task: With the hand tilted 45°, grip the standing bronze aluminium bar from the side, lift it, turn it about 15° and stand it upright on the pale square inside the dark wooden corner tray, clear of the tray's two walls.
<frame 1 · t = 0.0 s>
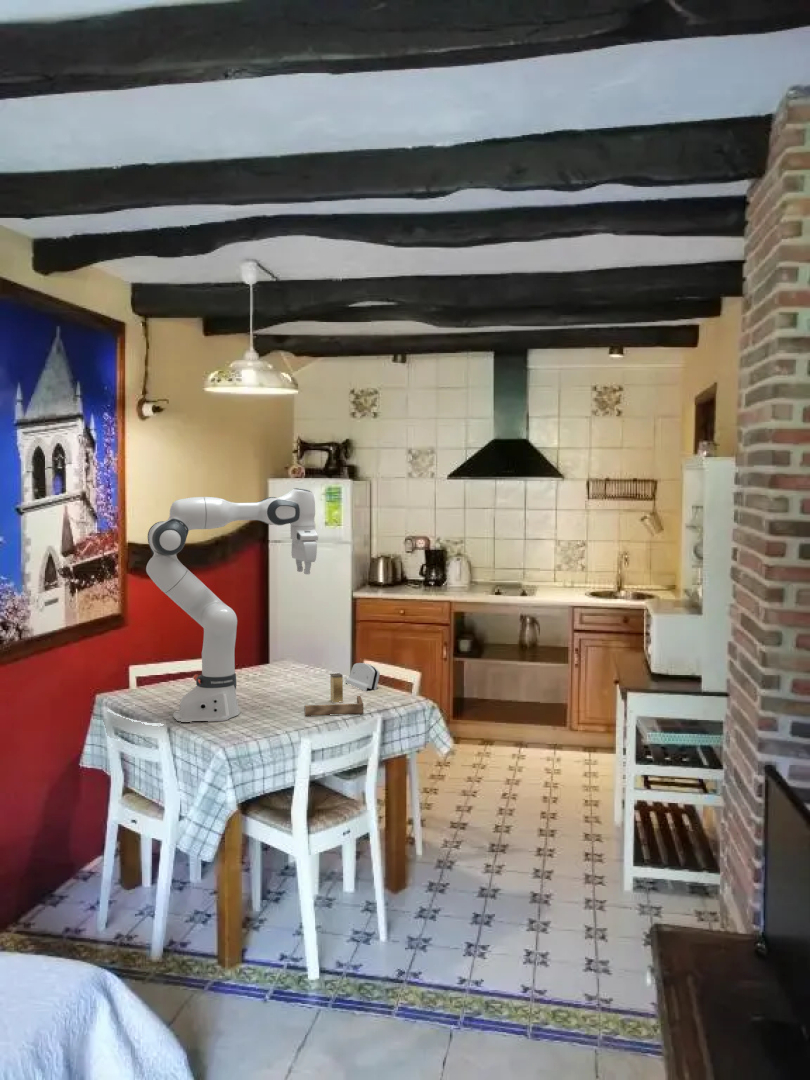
hand: (303, 572, 311), 48 cm above the table, tool pointing down, fingers open, 8 cm apart
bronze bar: (336, 701, 319), on the table
corner tray: (333, 710, 306), on the table
hinge: (363, 686, 343), on the table
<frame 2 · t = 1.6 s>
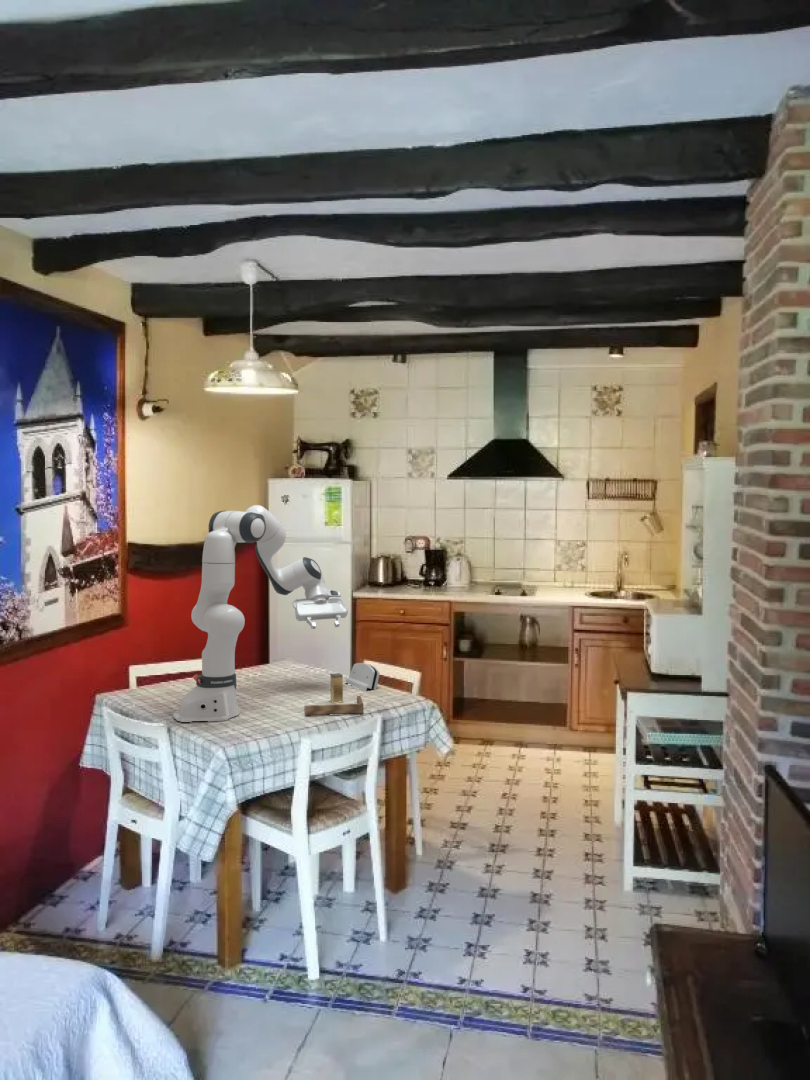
hand: (325, 627, 329), 26 cm above the table, tool tilted 45°, fingers open, 8 cm apart
nothing on the table moved.
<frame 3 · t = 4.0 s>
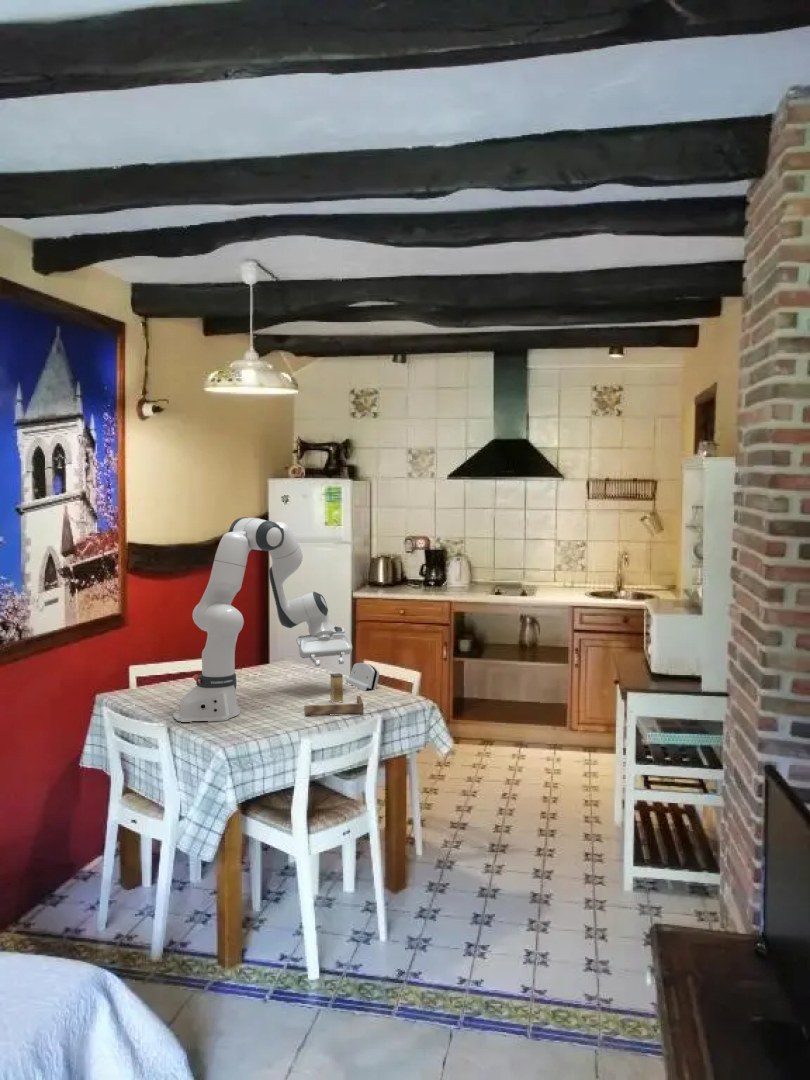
hand: (329, 664, 326), 12 cm above the table, tool tilted 45°, fingers open, 8 cm apart
nothing on the table moved.
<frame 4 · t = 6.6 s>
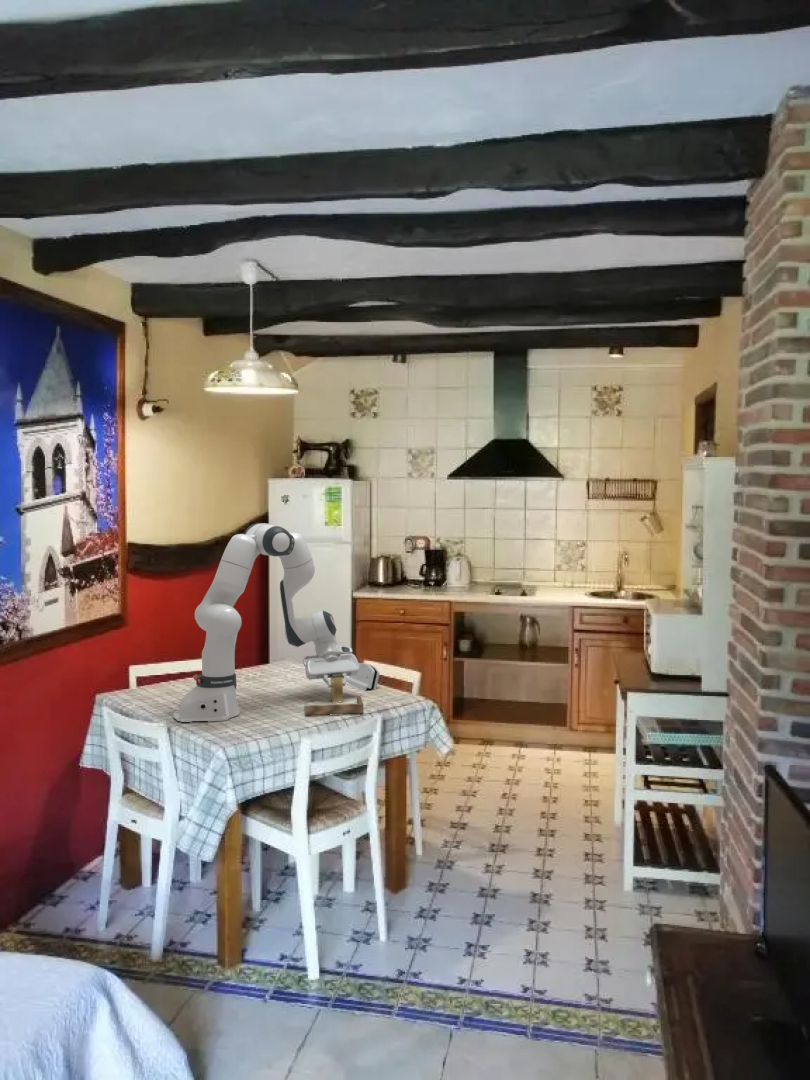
hand: (337, 685, 318), 6 cm above the table, tool tilted 45°, fingers closed on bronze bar, 3 cm apart
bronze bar: (336, 701, 319), on the table, touching gripper
everything else where it was.
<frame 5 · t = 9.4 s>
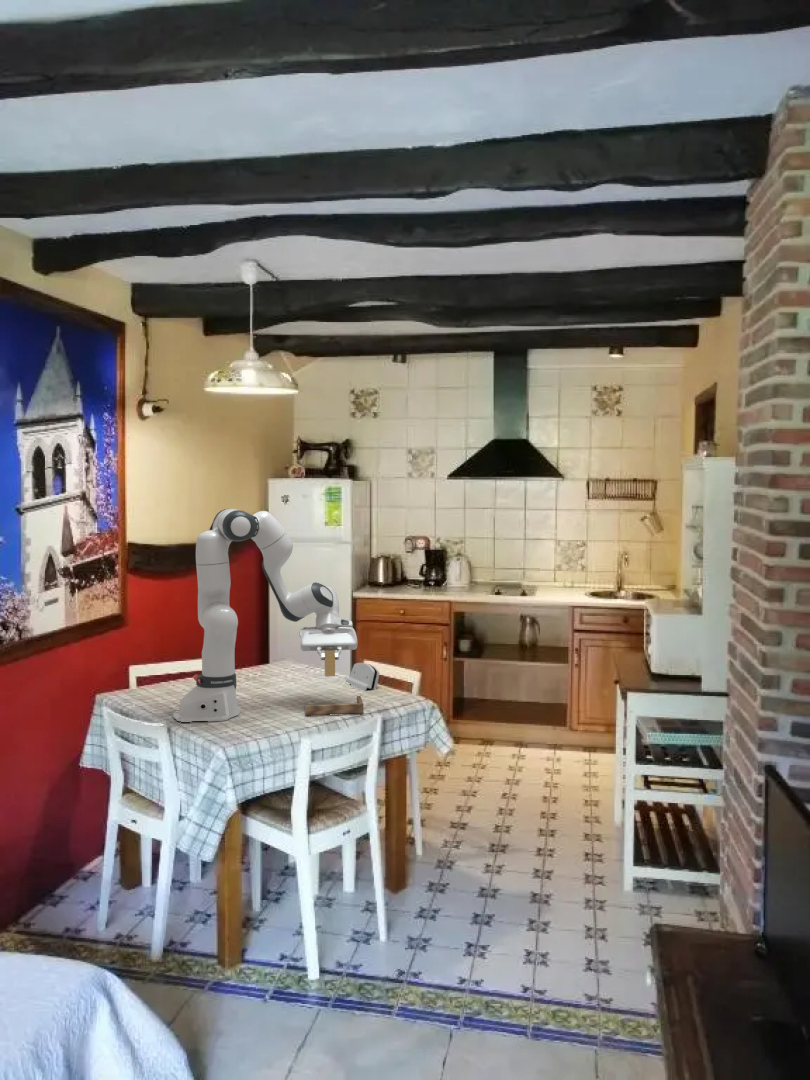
hand: (329, 659, 306), 18 cm above the table, tool tilted 45°, fingers closed on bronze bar, 3 cm apart
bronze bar: (329, 675, 307), point 12 cm above the table, touching gripper
everything else where it was.
when the fingers open (8 cm above the table, at t = 12.4 s): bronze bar drops 1 cm, resting on corner tray.
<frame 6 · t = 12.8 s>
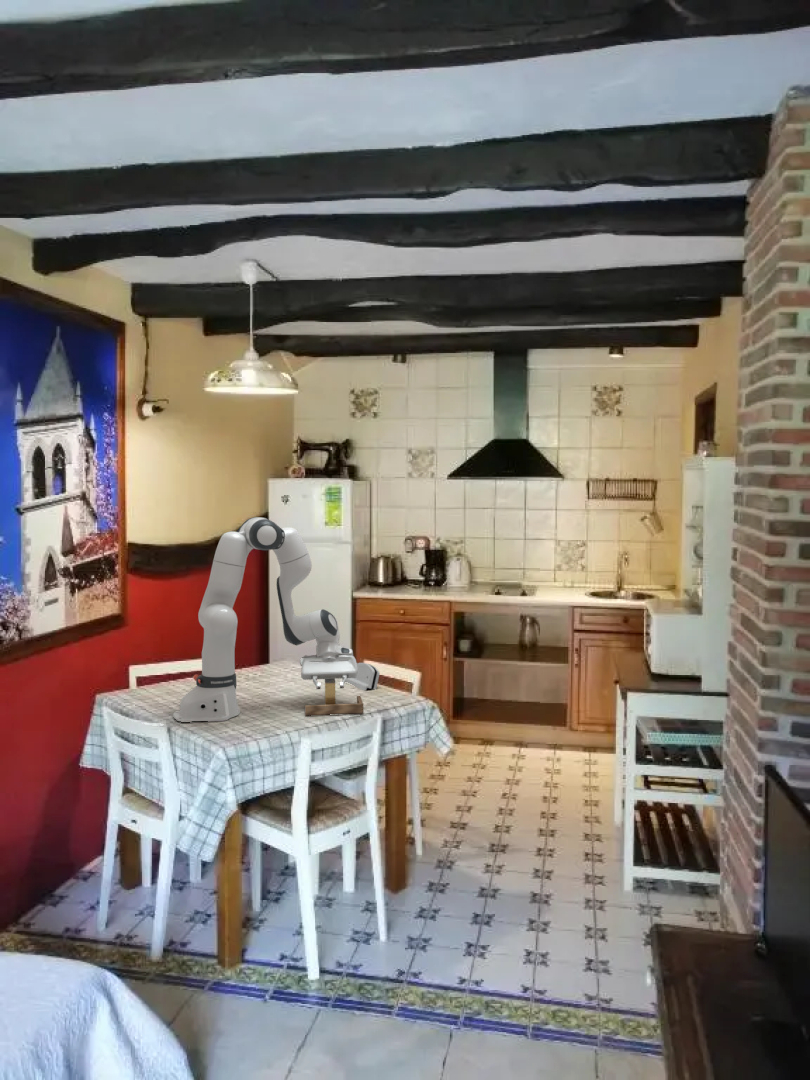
hand: (330, 687, 307), 8 cm above the table, tool tilted 45°, fingers open, 7 cm apart
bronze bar: (330, 707, 308), point 1 cm above the table, touching corner tray
everything else where it was.
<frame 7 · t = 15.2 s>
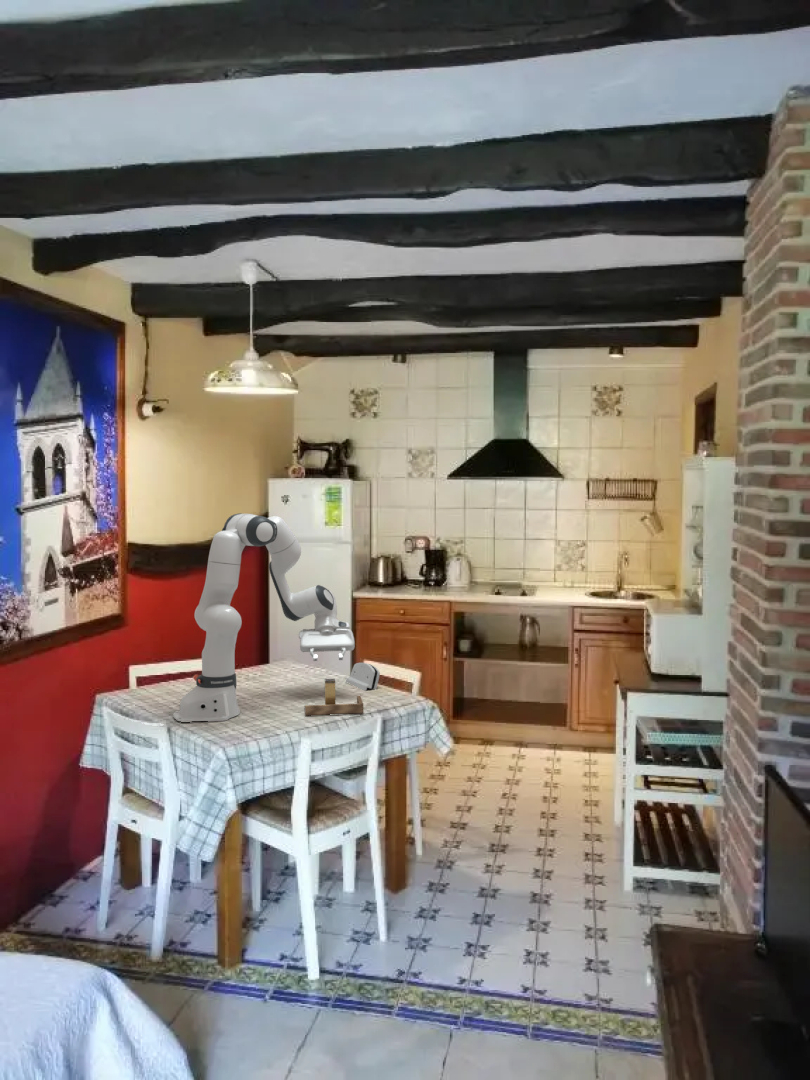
hand: (328, 659, 319), 15 cm above the table, tool tilted 45°, fingers open, 8 cm apart
nothing on the table moved.
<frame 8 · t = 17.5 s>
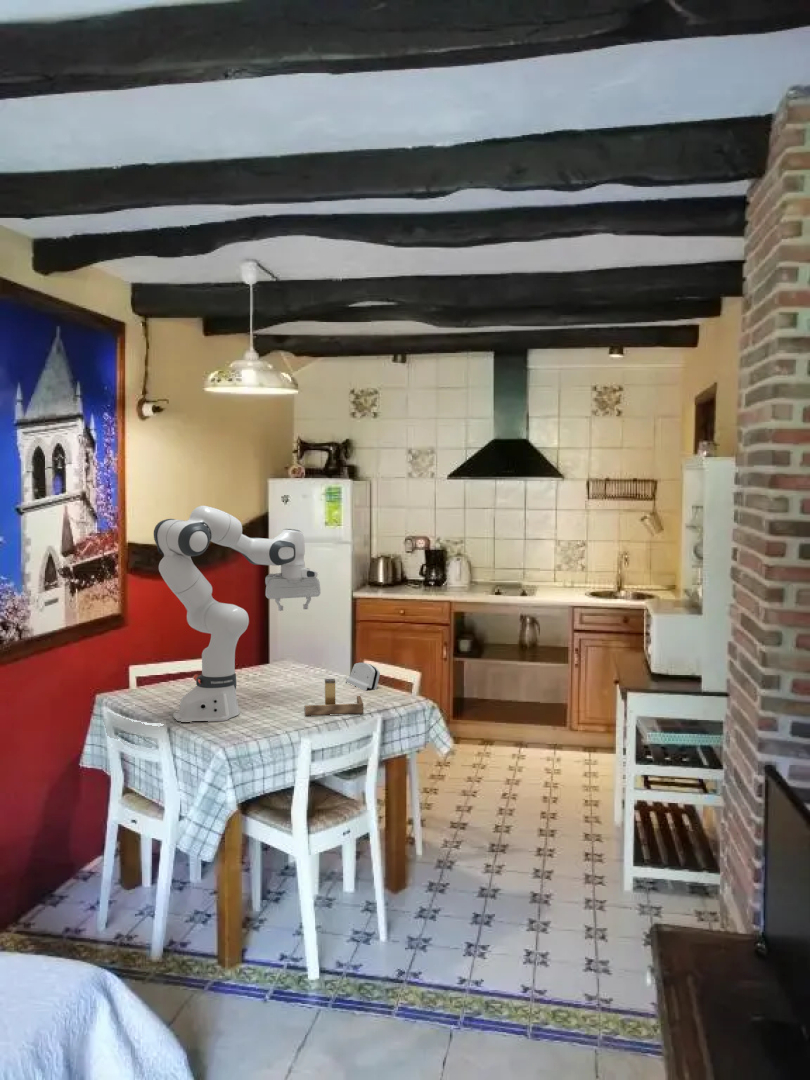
hand: (293, 609, 322), 33 cm above the table, tool pointing down, fingers open, 8 cm apart
nothing on the table moved.
at the end: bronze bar 0.7 cm from the target spot on the corner tray, point 0.7 cm above the corner tray's base; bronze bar tilted 0°; the gripper is holding nothing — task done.
